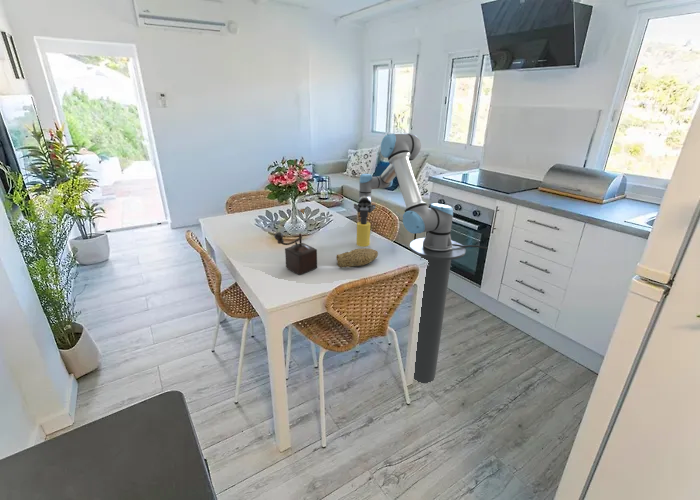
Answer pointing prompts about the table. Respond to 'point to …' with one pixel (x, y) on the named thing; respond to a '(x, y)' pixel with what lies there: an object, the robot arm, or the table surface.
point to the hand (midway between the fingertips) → (364, 214)
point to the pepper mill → (298, 255)
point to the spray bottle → (363, 229)
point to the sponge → (356, 257)
